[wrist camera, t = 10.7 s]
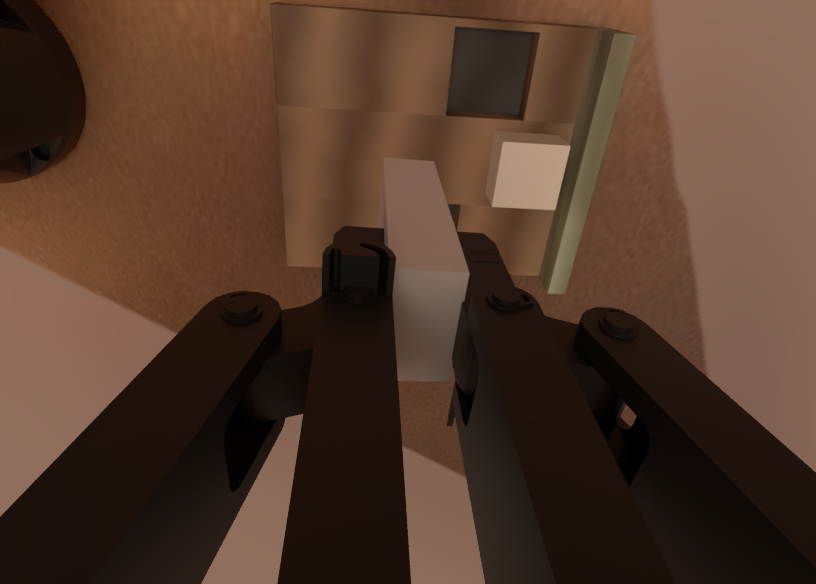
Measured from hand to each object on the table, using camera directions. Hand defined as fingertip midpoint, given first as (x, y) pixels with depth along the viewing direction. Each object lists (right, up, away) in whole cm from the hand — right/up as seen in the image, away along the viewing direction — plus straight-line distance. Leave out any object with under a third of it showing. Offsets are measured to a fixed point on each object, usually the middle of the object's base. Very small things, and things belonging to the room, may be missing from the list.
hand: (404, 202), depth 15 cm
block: (+9, +7, +25) cm, 28 cm away
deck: (+2, +9, +26) cm, 28 cm away
